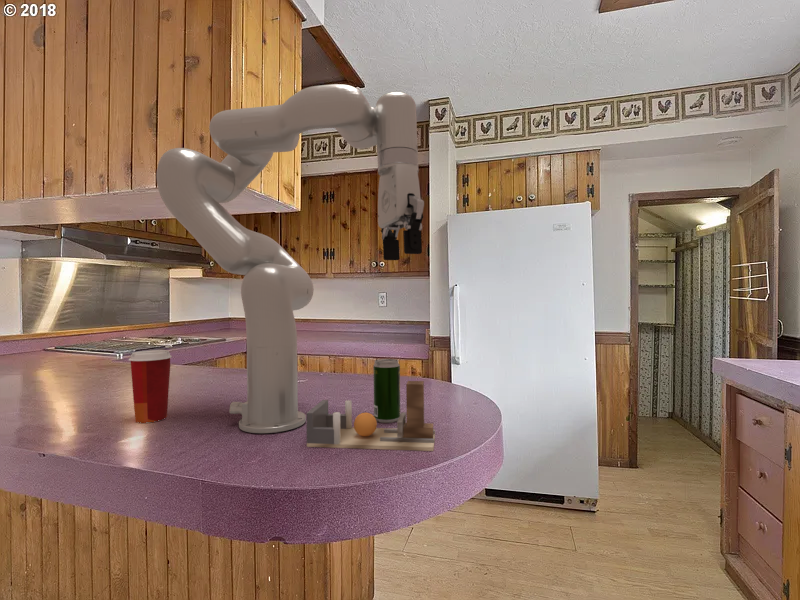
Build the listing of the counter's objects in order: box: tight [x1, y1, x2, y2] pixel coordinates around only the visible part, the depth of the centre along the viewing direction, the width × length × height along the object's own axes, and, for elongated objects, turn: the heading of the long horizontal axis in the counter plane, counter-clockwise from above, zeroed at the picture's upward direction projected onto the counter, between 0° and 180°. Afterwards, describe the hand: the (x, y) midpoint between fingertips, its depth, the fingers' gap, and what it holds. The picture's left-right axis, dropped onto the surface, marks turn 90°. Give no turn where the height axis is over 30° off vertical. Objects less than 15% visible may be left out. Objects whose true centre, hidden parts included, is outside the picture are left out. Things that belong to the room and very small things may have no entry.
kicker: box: [396, 380, 434, 438], centre depth 70 cm, size 6×6×9 cm
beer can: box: [372, 358, 401, 424], centre depth 83 cm, size 5×5×12 cm
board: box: [306, 426, 436, 452], centre depth 71 cm, size 21×9×1 cm, turn 83°
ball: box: [353, 412, 378, 436], centre depth 71 cm, size 4×4×4 cm
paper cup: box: [127, 349, 173, 424], centre depth 84 cm, size 8×8×14 cm
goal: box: [305, 399, 353, 444], centre depth 72 cm, size 6×9×5 cm, turn 173°
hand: (401, 257), depth 75 cm, fingers open, 9 cm apart
